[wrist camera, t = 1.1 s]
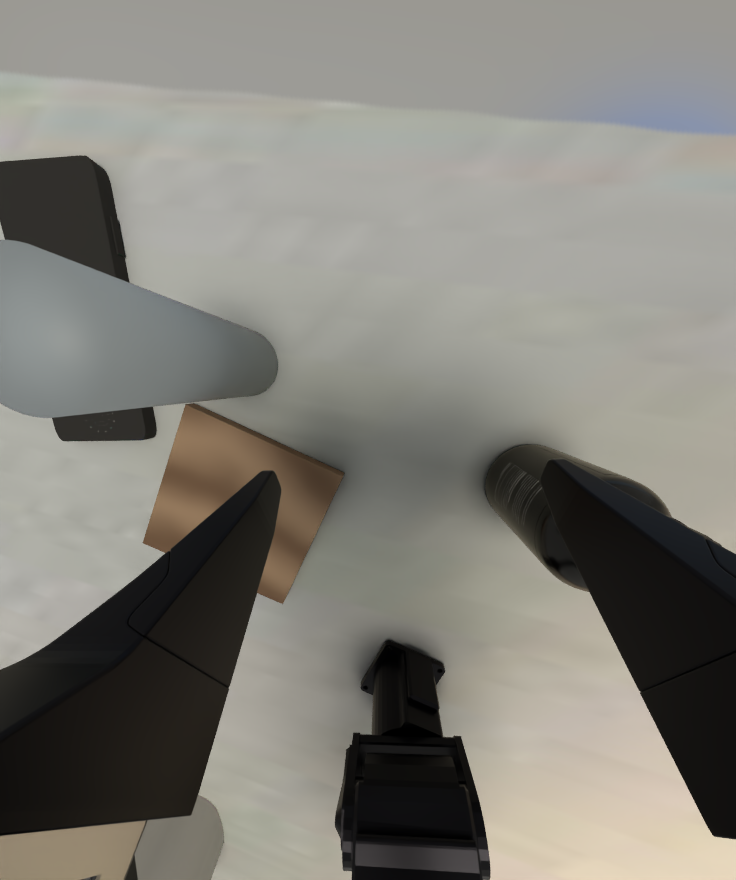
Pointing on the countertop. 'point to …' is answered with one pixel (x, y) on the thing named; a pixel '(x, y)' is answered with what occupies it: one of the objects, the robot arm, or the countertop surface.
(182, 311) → the slate round-topped tapered cone
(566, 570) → the supplement bottle
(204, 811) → the lumpy-topped squat cylinder
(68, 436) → the smart home device
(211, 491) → the walnut board
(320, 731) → the countertop surface
